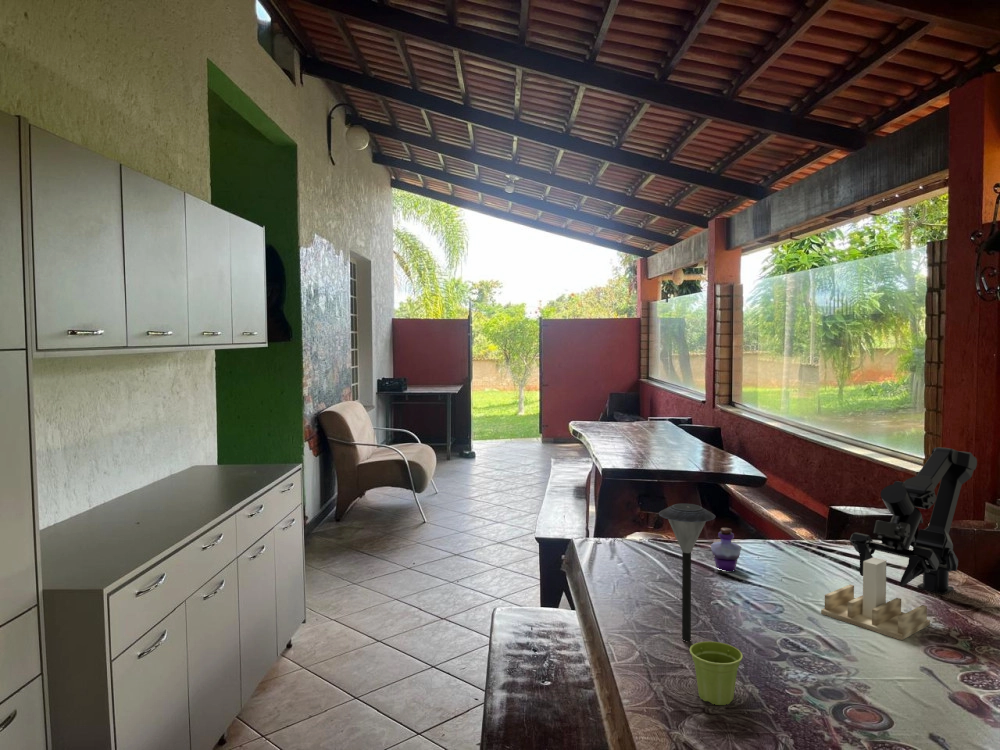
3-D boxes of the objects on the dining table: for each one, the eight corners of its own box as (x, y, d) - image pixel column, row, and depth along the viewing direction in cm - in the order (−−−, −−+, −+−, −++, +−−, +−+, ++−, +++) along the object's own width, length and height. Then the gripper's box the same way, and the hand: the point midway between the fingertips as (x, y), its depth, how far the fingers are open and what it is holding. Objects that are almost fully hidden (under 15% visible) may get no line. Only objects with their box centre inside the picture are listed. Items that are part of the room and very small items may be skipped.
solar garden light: (685, 657, 141) (685, 516, 140) (646, 635, 152) (646, 504, 150) (727, 645, 147) (728, 509, 145) (687, 624, 157) (688, 498, 156)
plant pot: (682, 686, 129) (682, 641, 129) (729, 683, 130) (729, 639, 130) (700, 712, 120) (700, 664, 120) (751, 709, 121) (751, 662, 120)
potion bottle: (723, 562, 202) (724, 523, 201) (747, 570, 194) (748, 529, 194) (704, 567, 197) (704, 527, 197) (728, 576, 190) (728, 534, 189)
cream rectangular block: (872, 610, 162) (873, 557, 162) (885, 614, 160) (886, 560, 159) (862, 615, 159) (863, 561, 159) (875, 619, 157) (876, 564, 156)
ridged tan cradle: (850, 600, 171) (850, 583, 171) (929, 624, 156) (930, 605, 156) (821, 613, 163) (821, 595, 163) (901, 640, 148) (902, 620, 148)
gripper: (853, 500, 171) (830, 551, 165) (934, 515, 155) (911, 572, 150) (868, 526, 176) (846, 576, 170) (948, 542, 160) (927, 598, 155)
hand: (880, 580), depth 161 cm, fingers open, 9 cm apart
